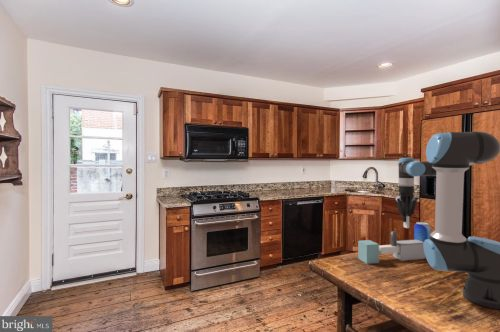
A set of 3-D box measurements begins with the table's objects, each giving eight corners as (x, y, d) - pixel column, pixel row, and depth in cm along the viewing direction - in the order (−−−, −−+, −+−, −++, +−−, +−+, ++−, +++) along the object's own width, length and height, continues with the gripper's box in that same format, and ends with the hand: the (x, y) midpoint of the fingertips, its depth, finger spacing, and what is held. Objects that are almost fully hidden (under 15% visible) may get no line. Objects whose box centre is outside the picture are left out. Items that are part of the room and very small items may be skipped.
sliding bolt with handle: (420, 251, 151) (420, 231, 151) (381, 254, 147) (381, 233, 147) (415, 249, 155) (415, 229, 155) (377, 252, 151) (376, 231, 151)
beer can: (411, 248, 168) (411, 222, 168) (420, 246, 172) (419, 221, 172) (425, 252, 161) (424, 225, 160) (433, 250, 164) (433, 223, 164)
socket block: (378, 262, 145) (378, 244, 144) (366, 263, 143) (366, 244, 143) (369, 257, 152) (369, 240, 152) (358, 258, 151) (358, 240, 151)
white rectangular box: (425, 258, 150) (425, 242, 150) (401, 260, 148) (401, 244, 148) (416, 254, 157) (415, 239, 157) (393, 256, 154) (392, 240, 154)
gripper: (411, 184, 156) (411, 225, 157) (391, 185, 154) (391, 226, 155) (421, 185, 149) (421, 228, 150) (400, 186, 147) (400, 229, 147)
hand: (406, 227), depth 152 cm, fingers closed
